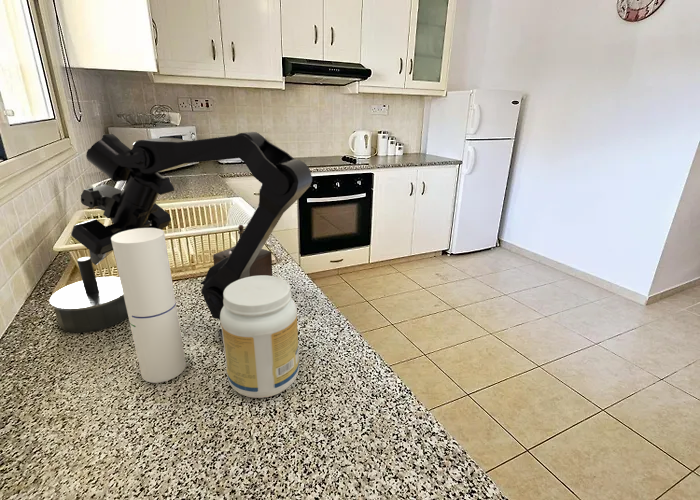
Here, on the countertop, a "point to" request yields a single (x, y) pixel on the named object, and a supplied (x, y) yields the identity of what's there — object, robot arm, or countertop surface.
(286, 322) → the supplement tub
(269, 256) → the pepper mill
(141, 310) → the cylindrical container
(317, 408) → the countertop surface
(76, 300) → the pan lid
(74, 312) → the pan
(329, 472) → the countertop surface
